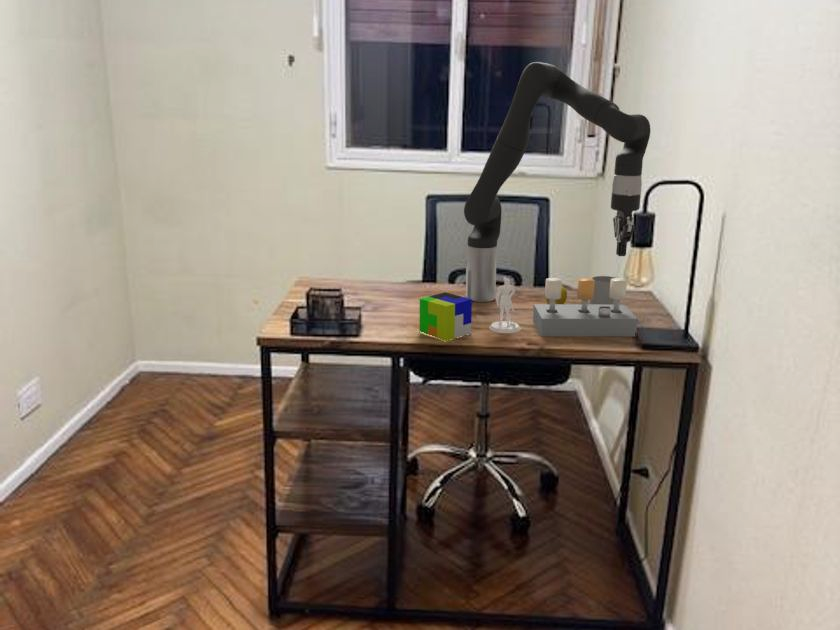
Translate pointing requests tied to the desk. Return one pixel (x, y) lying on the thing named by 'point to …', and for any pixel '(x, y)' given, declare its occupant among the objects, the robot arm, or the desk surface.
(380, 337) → the desk surface
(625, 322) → the panel
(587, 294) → the knob middle
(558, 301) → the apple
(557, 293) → the knob left
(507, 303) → the figurine
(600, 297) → the cup
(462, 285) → the desk surface
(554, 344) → the desk surface
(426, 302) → the puzzle toy
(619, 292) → the knob right
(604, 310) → the dial
